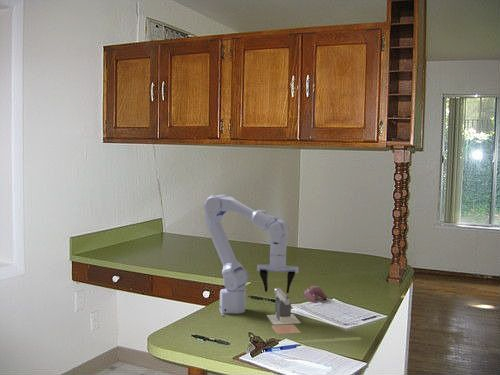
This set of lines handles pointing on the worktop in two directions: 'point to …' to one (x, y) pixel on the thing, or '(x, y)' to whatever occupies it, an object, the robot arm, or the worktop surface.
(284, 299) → the white square rod
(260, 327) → the worktop surface
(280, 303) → the plug
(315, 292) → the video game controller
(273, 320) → the socket
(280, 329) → the tile
